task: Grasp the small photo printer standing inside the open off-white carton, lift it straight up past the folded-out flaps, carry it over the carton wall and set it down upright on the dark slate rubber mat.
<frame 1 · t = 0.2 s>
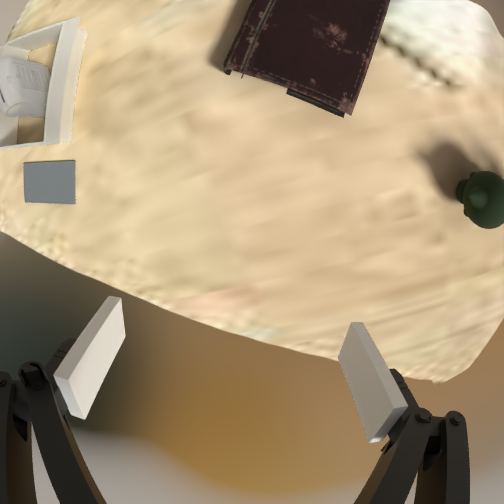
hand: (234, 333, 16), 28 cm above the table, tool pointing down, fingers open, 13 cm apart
toy figurine: (480, 196, 41), on the table
photo printer: (46, 90, 33), resting in carton
mat: (48, 182, 38), on the table
diary: (312, 27, 32), on the table
carton: (45, 90, 32), on the table
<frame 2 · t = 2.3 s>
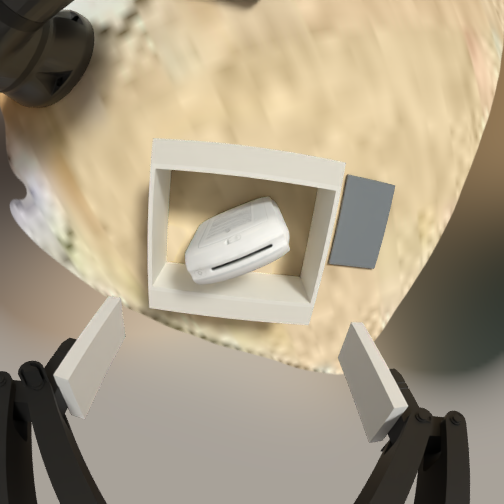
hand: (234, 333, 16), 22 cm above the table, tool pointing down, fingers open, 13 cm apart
photo printer: (239, 221, 36), resting in carton
mat: (362, 223, 36), on the table
carton: (239, 222, 36), on the table
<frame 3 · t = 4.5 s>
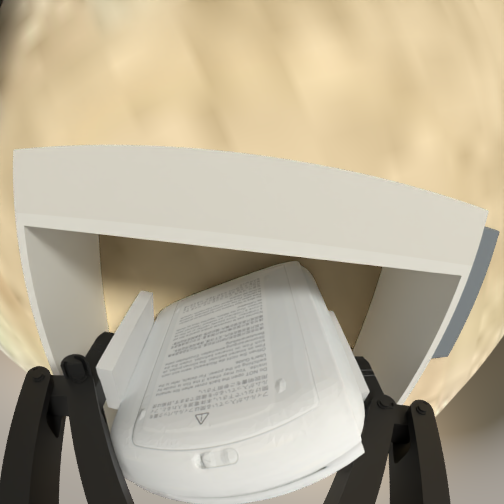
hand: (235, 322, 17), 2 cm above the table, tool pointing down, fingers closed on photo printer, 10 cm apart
photo printer: (235, 305, 18), resting in carton, touching gripper
mat: (447, 296, 19), on the table
carton: (235, 306, 18), on the table
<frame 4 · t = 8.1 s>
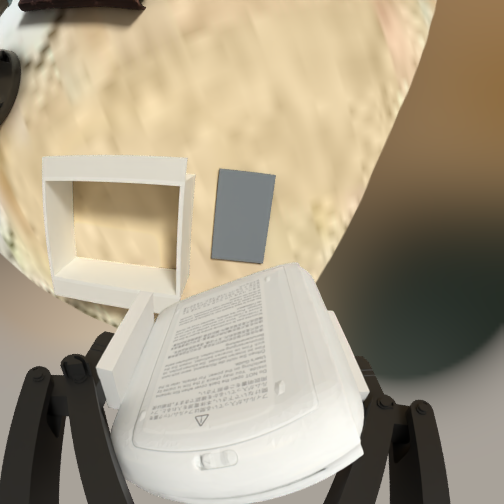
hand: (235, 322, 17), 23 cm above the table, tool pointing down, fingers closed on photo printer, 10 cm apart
photo printer: (235, 306, 18), point 21 cm above the table, touching gripper
mat: (242, 217, 38), on the table
carton: (125, 220, 37), on the table
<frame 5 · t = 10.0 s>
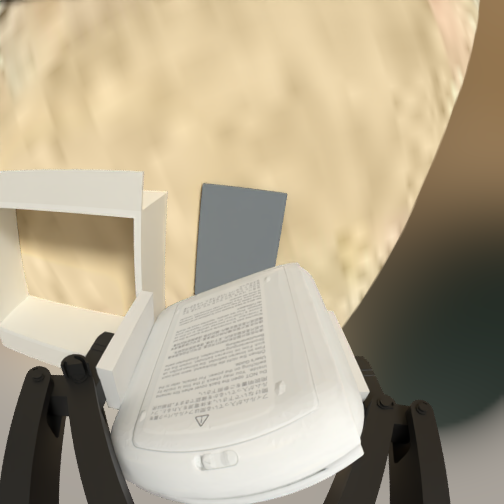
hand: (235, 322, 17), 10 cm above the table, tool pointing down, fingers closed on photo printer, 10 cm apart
photo printer: (235, 306, 18), point 8 cm above the table, touching gripper
mat: (236, 254, 26), on the table
carton: (78, 254, 26), on the table
when the fingers open (4 cm above the table, at t = 11.6 s): photo printer drops 2 cm, resting on mat.
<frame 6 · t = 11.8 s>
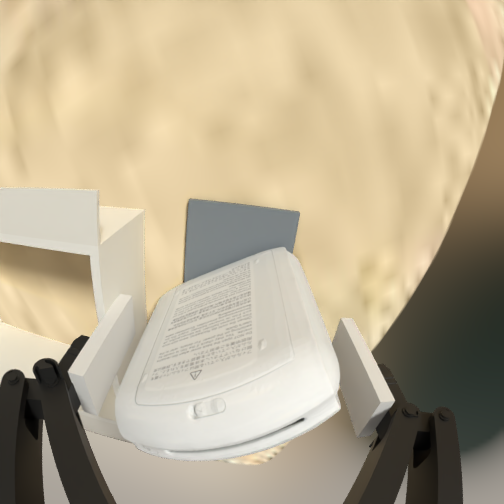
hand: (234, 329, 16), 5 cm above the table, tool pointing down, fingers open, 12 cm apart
photo printer: (230, 289, 20), resting on mat
mat: (234, 288, 20), on the table
carton: (47, 282, 20), on the table
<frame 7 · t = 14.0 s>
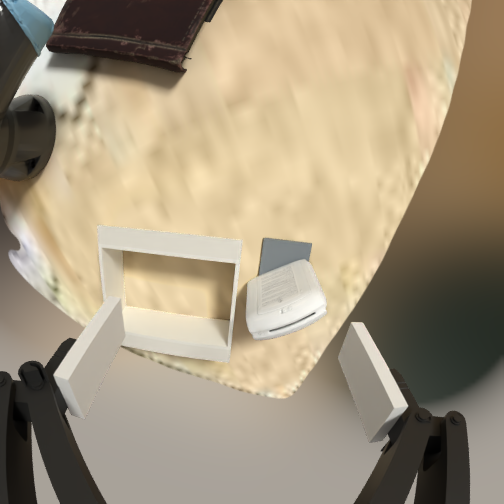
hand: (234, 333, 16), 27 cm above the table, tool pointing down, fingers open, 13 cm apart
photo printer: (279, 278, 44), resting on mat
mat: (281, 278, 44), on the table
diary: (138, 11, 30), on the table
carton: (176, 278, 44), on the table
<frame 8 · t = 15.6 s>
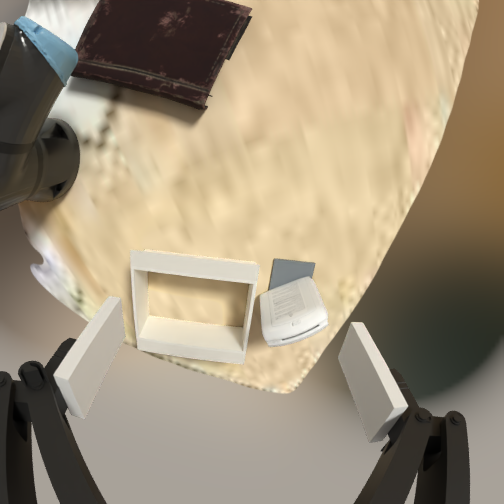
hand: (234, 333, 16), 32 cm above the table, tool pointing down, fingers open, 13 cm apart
photo printer: (286, 292, 51), resting on mat
mat: (288, 291, 51), on the table
diary: (159, 41, 35), on the table
carton: (196, 292, 50), on the table
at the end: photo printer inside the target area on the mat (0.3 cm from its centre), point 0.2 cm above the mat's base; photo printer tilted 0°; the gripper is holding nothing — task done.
